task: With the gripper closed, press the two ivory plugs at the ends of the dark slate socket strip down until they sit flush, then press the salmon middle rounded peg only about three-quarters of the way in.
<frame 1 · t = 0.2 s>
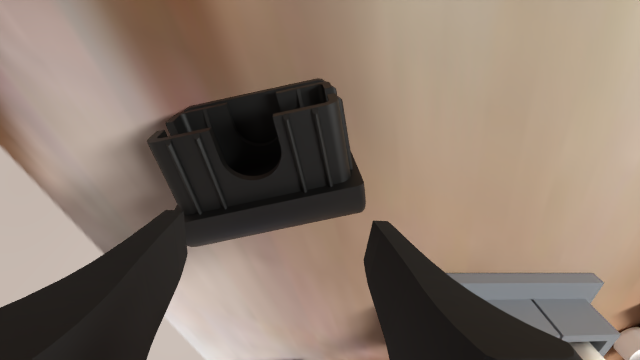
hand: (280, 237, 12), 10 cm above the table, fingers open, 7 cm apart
socket strip: (487, 308, 31), on the table
end cap: (269, 143, 22), on the table
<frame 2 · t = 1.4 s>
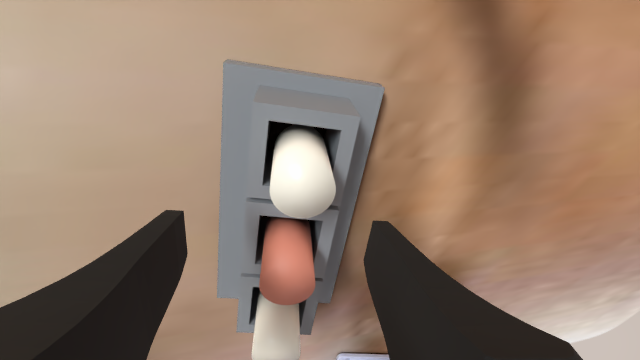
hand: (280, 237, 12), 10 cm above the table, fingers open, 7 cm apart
salmon rounded peg: (287, 254, 18), point 6 cm above the table, slide at 0.0 cm
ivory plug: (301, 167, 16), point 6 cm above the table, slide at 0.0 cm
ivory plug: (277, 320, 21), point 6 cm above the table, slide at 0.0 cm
socket strip: (288, 199, 23), on the table
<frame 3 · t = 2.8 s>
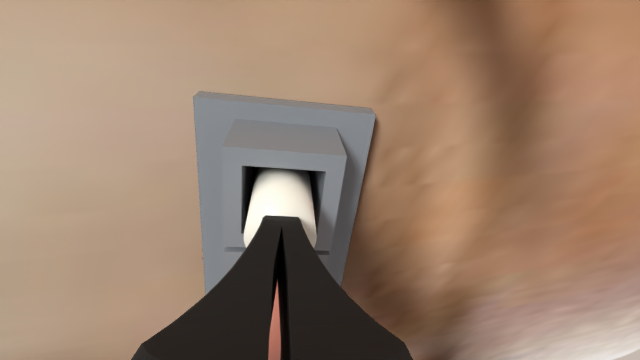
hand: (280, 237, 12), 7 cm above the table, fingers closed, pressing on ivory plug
salmon rounded peg: (274, 306, 16), point 6 cm above the table, slide at 0.0 cm
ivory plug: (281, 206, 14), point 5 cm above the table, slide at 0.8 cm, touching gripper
socket strip: (278, 234, 21), on the table
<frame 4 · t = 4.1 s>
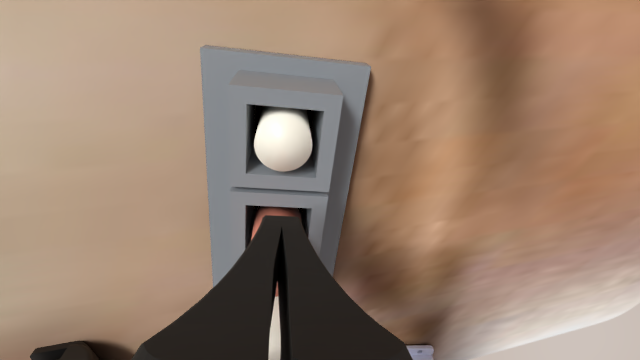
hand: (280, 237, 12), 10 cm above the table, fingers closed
salmon rounded peg: (276, 244, 17), point 6 cm above the table, slide at 0.0 cm
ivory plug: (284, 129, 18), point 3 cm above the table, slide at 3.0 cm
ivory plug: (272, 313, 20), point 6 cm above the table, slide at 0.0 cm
socket strip: (279, 189, 23), on the table
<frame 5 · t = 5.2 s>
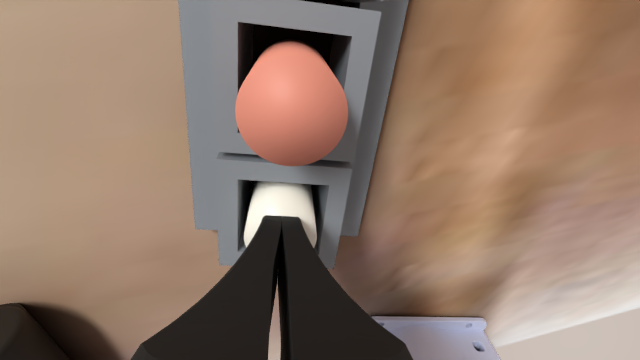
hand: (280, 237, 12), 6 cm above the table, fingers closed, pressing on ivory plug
salmon rounded peg: (292, 94, 10), point 6 cm above the table, slide at 0.0 cm
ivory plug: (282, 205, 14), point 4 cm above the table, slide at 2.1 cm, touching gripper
socket strip: (291, 64, 15), on the table
end cap: (46, 343, 23), on the table
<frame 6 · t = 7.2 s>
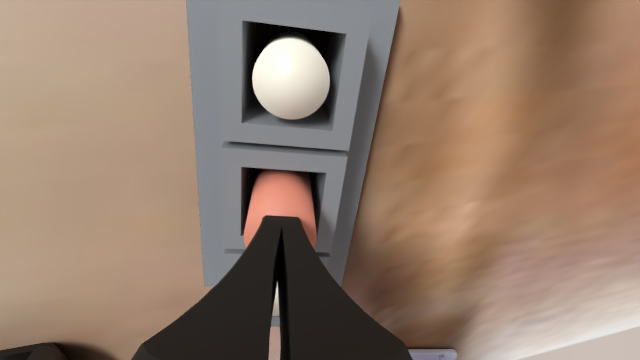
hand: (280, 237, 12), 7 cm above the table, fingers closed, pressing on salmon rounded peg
salmon rounded peg: (281, 205, 14), point 5 cm above the table, slide at 1.0 cm, touching gripper
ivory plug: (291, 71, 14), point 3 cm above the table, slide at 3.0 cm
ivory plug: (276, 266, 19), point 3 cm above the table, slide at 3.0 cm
socket strip: (283, 160, 19), on the table
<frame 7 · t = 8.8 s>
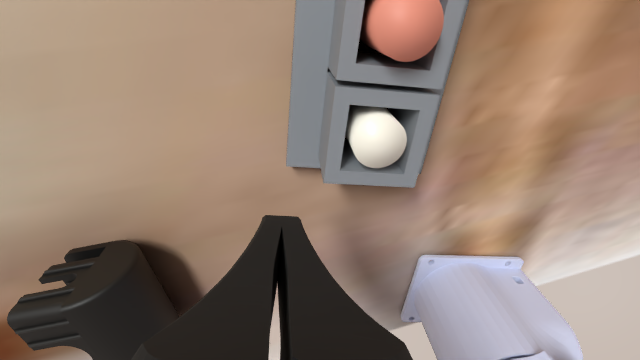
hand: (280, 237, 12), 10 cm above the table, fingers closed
salmon rounded peg: (394, 23, 15), point 4 cm above the table, slide at 2.2 cm
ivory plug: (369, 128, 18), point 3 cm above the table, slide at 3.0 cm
socket strip: (375, 20, 18), on the table
end cap: (139, 281, 26), on the table
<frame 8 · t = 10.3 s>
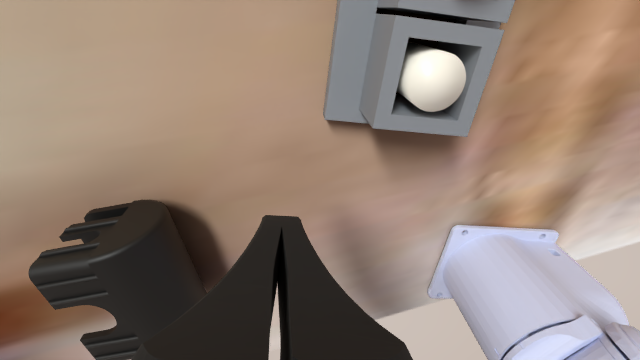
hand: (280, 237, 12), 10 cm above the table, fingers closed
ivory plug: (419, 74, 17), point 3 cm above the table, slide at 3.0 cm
end cap: (160, 247, 25), on the table
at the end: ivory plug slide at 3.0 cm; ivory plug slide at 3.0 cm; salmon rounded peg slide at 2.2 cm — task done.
